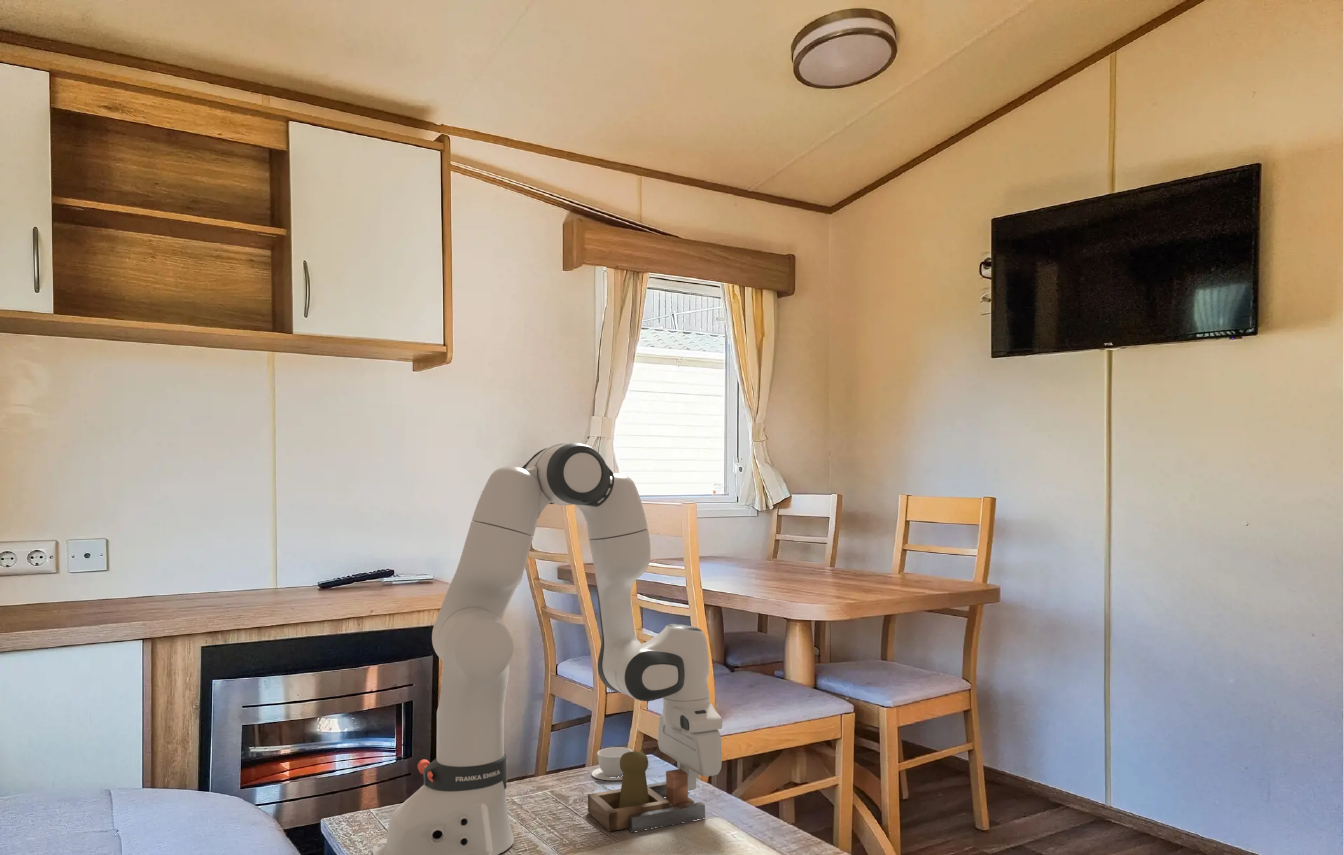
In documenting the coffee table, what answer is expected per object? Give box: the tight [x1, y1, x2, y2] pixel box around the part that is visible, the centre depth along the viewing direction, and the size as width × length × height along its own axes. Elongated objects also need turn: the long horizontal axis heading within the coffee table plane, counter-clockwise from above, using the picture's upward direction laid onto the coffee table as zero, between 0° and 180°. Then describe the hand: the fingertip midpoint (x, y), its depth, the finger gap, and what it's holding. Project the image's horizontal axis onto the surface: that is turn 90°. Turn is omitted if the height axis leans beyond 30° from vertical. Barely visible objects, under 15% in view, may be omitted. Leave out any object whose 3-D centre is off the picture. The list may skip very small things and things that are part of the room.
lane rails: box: [628, 781, 706, 833], centre depth 157 cm, size 14×15×2 cm
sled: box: [587, 768, 695, 832], centre depth 157 cm, size 18×11×6 cm, turn 115°
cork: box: [619, 750, 650, 808], centre depth 156 cm, size 6×6×11 cm
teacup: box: [591, 746, 633, 781], centre depth 180 cm, size 10×10×5 cm
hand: (688, 787), depth 160 cm, fingers closed, pressing on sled
